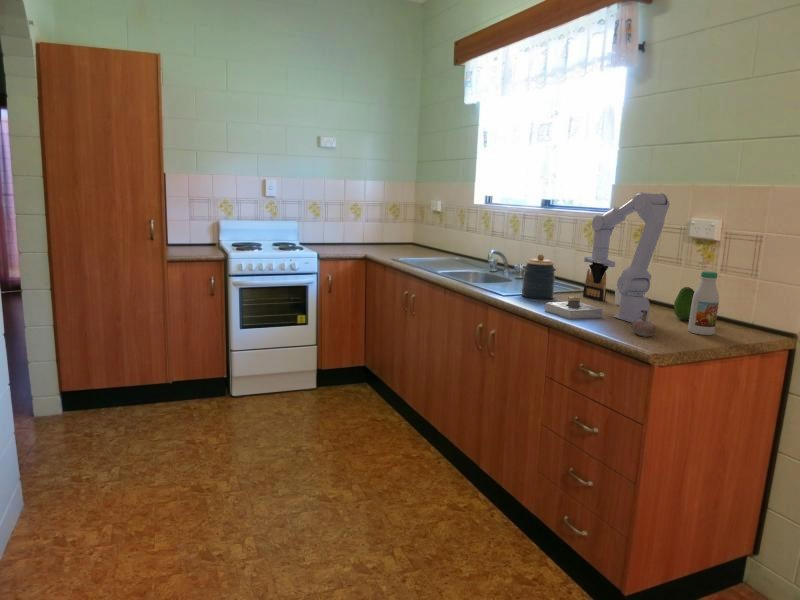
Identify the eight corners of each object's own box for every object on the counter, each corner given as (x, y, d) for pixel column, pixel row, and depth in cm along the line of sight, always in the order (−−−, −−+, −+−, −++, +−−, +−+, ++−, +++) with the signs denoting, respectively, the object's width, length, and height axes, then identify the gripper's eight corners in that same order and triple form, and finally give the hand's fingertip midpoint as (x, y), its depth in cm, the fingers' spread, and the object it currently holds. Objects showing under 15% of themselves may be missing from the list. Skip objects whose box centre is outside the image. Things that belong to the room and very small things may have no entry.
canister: (535, 292, 253) (538, 251, 250) (559, 298, 243) (563, 255, 240) (514, 295, 245) (518, 253, 242) (539, 300, 235) (543, 256, 232)
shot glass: (633, 306, 230) (635, 289, 229) (614, 305, 232) (616, 288, 230) (629, 303, 237) (631, 286, 236) (612, 302, 238) (614, 285, 237)
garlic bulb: (636, 331, 191) (639, 306, 189) (659, 335, 186) (662, 310, 184) (626, 334, 185) (629, 309, 184) (649, 339, 180) (653, 313, 179)
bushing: (581, 314, 212) (582, 298, 210) (572, 315, 210) (574, 298, 209) (573, 312, 215) (574, 296, 214) (564, 313, 213) (566, 296, 212)
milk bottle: (684, 332, 191) (692, 271, 188) (692, 328, 197) (701, 269, 193) (709, 337, 186) (718, 274, 182) (717, 333, 191) (726, 272, 188)
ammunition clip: (605, 301, 241) (608, 272, 238) (602, 301, 240) (605, 272, 238) (585, 296, 250) (588, 268, 248) (582, 296, 249) (585, 268, 247)
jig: (601, 317, 209) (602, 308, 208) (570, 319, 203) (570, 310, 203) (575, 309, 221) (576, 301, 221) (544, 310, 216) (545, 302, 215)
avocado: (667, 318, 211) (672, 285, 209) (680, 316, 216) (684, 284, 213) (688, 323, 205) (693, 289, 202) (701, 321, 209) (706, 288, 207)
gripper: (579, 245, 227) (575, 280, 229) (606, 250, 214) (602, 286, 216) (593, 245, 230) (590, 279, 232) (621, 249, 217) (616, 286, 219)
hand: (596, 283), depth 224 cm, fingers closed
